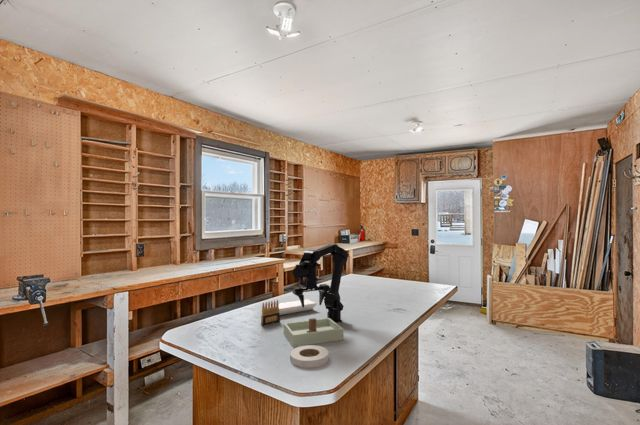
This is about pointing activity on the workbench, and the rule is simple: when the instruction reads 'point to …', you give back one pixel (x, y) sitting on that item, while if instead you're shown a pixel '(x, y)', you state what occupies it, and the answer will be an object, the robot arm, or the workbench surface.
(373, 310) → the workbench surface
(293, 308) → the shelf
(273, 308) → the ammunition clip
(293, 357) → the roll of tape
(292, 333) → the box
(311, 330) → the peg
